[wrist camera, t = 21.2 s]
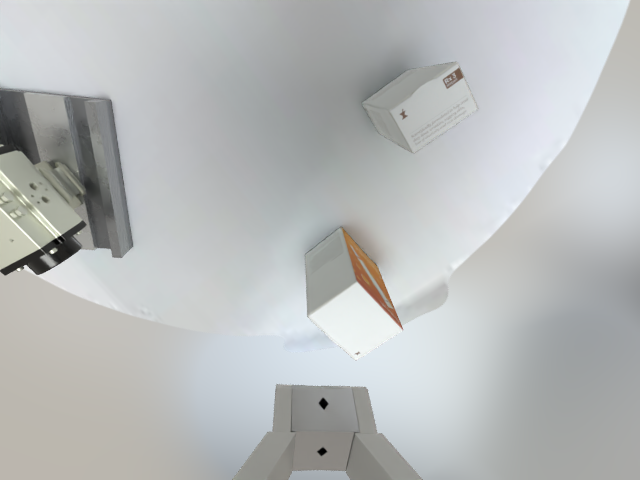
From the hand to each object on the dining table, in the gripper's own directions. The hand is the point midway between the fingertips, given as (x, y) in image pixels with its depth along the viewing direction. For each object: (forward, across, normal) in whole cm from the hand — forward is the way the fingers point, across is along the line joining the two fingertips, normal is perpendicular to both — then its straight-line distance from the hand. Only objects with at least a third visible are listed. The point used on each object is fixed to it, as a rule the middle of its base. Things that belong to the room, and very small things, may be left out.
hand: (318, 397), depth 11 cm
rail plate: (+31, +26, +3) cm, 41 cm away
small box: (+31, -6, +12) cm, 34 cm away
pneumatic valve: (+30, +25, +4) cm, 39 cm away
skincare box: (+31, -9, -8) cm, 34 cm away
